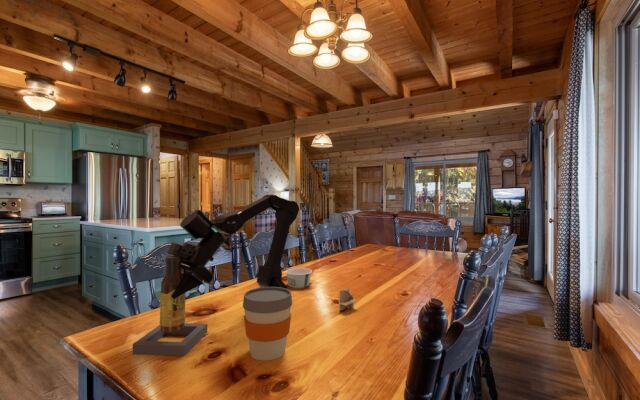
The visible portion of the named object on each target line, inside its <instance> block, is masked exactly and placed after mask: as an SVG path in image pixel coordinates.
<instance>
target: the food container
mask: <svg viewBox="0 0 640 400" xmlns="http://www.w3.org/2000/svg"><path fill="white" fill-rule="evenodd" d="M284 271H285V274H286V278H287V284H288V285H287V287H289V286H290V287H289V288H291V287H293V288H292V289H305V288H304V287H306V288H308V287H309V286H310V282H311V281H310V279H311V275H312V273H313V270H312V269H310V268H305V267H304V268H303V267H302V268H301V267H294V268H289V269H287V270H284ZM307 286H308V287H307Z"/></svg>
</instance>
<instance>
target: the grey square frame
mask: <svg viewBox="0 0 640 400" xmlns="http://www.w3.org/2000/svg"><path fill="white" fill-rule="evenodd" d="M160 327H161V325H160V324H159V325H157V326H156V327H155V328H153V329H151V331H149V332H148V333H146V334H144V336H142V337H141V338H139V339H138V340H136V341H135V342H133V343H132V355H148V356H149V355H150V356H152V355H153V356H179V357H186V355H187V354H188V353H189V352H190V351H191V350H192V349H193V348H194V346H195V345H197V344H198V343H199V341H201V340H202V339H203V338H204V337H205V336H206V334H208V323H189V322H187V323H186V322H185V325H184V327H183V329H181V330H179V331H177V332H172V333H164V332H162V331H161V329H160ZM165 335H176V336H177V335H180V336H181V335H182V336H185V335H186V336H185V337H184V339H182V340H181V341H161V340H160V339H162V337H164V336H165Z"/></svg>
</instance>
